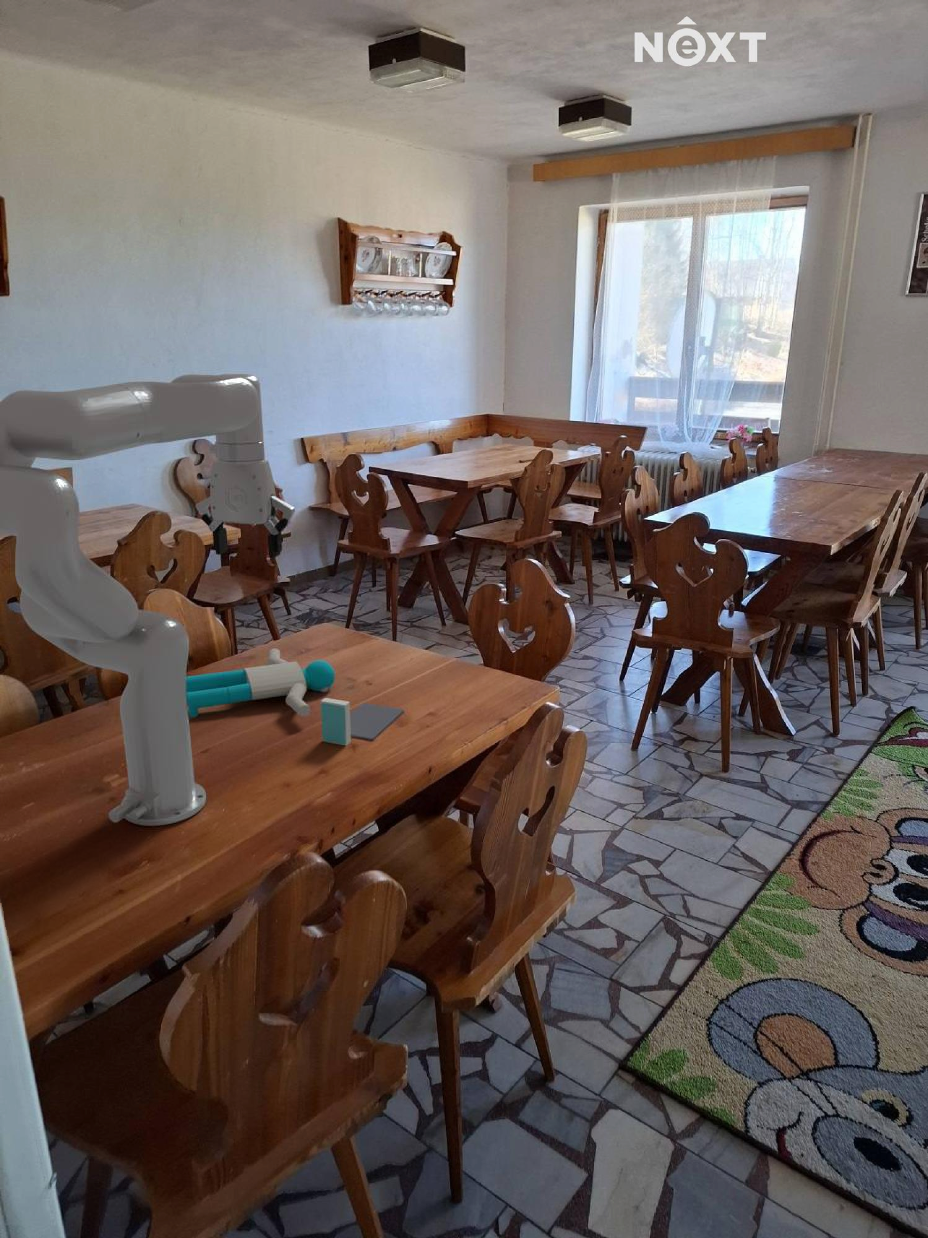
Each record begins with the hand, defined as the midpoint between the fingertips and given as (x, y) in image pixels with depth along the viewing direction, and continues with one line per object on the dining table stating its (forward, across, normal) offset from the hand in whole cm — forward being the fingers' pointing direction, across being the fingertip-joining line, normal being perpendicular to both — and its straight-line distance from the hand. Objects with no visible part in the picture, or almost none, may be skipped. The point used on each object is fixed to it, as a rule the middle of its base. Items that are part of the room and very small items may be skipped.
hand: (248, 554), depth 144 cm
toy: (+36, -8, +19) cm, 42 cm away
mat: (+35, +16, +12) cm, 41 cm away
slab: (+35, +13, +3) cm, 38 cm away
